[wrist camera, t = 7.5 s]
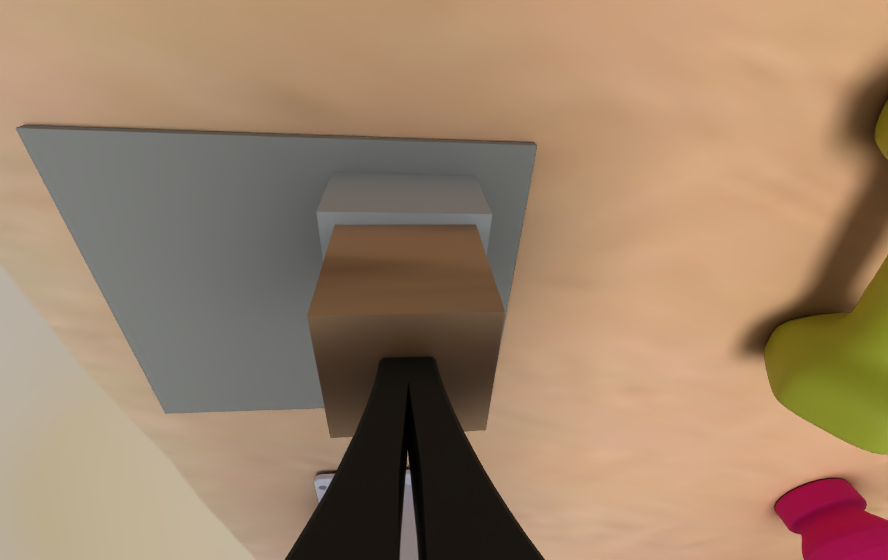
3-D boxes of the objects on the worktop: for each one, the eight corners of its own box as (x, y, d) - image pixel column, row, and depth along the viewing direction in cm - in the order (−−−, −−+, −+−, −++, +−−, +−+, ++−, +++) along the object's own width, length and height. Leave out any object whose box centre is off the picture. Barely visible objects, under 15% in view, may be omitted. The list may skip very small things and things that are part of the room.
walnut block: (465, 329, 16) (485, 430, 12) (347, 331, 15) (330, 437, 11) (475, 224, 13) (505, 311, 9) (334, 224, 13) (306, 315, 9)
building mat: (488, 396, 24) (489, 402, 24) (168, 407, 22) (165, 413, 22) (534, 142, 16) (537, 145, 15) (24, 124, 14) (15, 127, 13)
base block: (463, 289, 19) (475, 340, 16) (344, 290, 18) (333, 343, 15) (475, 175, 16) (492, 214, 13) (332, 172, 15) (316, 211, 12)
